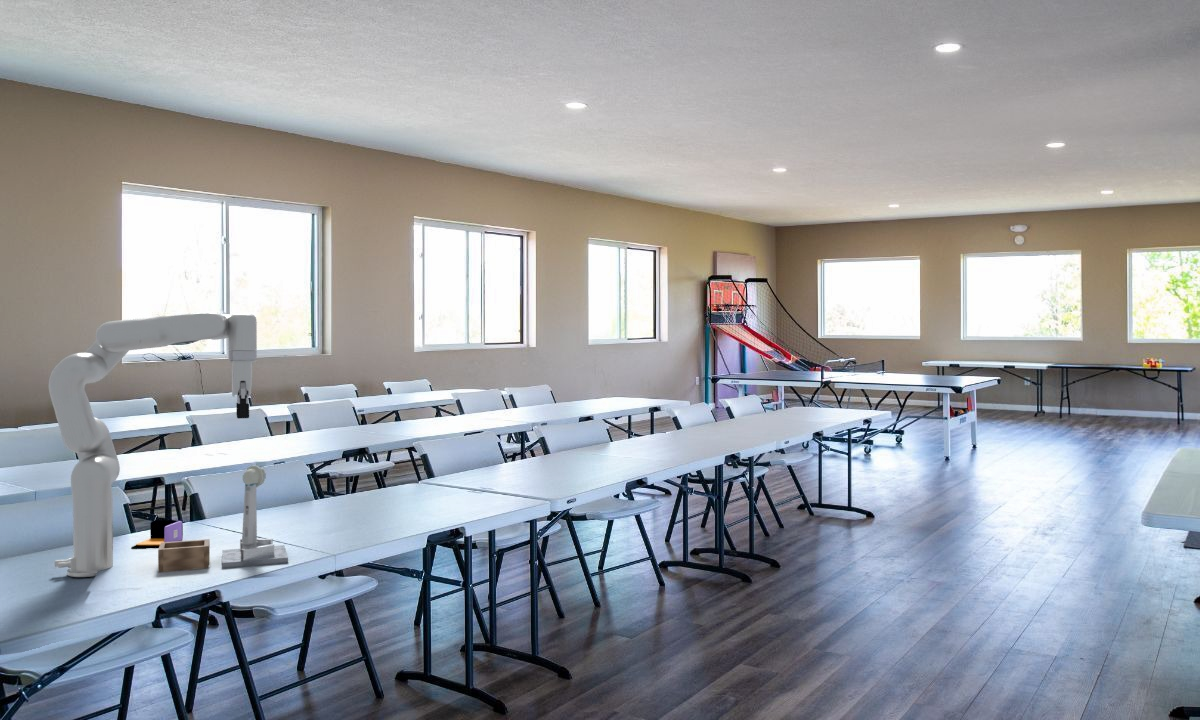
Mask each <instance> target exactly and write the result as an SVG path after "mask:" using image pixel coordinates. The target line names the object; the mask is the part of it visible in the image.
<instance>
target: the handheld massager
mask: <svg viewBox="0 0 1200 720" xmlns="http://www.w3.org/2000/svg"><path fill="white" fill-rule="evenodd" d="M266 475H267V473H266V472H265V470H264V467H262V466H261V465H256V464H253V465H250V466H248V467H247V468H246V470H245V471H244V473H243V475H242V482H243V483H244V496H243V497H244V499H243V515H242V516H243V517H242V532H241V539H242V542H241V544H242V549H245V548H252V547H257V543H258V541H257V539H258V536H257V535H258V533H257V532H258V529H257V528H258V520H257V512H258V511H257V509H258V508H257V488H258V487H260V486H261V485H262V484H264V481H265V479H267V477H266Z"/></svg>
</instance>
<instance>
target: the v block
mask: <svg viewBox="0 0 1200 720" xmlns="http://www.w3.org/2000/svg"><path fill="white" fill-rule="evenodd" d="M239 541H240V542H239V548H234V549H233V548H232V549H222V551H221V552H222V553H221V569H230V568H243V567H253V566H254V567H257V566H267V565H268V566H269V565H280V564H289V557H288V553H287V551H286V547H285V545H275V544H273V543H274V542H273V541H274V538H257V541H258V543H257V547H252V548H245V549H242V544H241V542H242V538H241V539H240V540H239Z"/></svg>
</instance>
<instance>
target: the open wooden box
mask: <svg viewBox="0 0 1200 720" xmlns="http://www.w3.org/2000/svg"><path fill="white" fill-rule="evenodd" d="M210 545H211V544H210V538H208V539H207V538H206V539H204V538H203V539H194V540H193V539H192V540H191V539H190V540H181V541H176V542H162V543H161V544H160V546H159V549H157V552H158V555H157V558H158V559H157V562H158V563H157V564H158V565H157V566H158V567H157V571H158V573H165V572H166V573H167V572H178V571H180V572H181V571H189V570H190V571H191V570H200V569H201V570H203V569H209V568H210V559H211V558H210V557H211V556H210V555H211V554H210V549H211V547H210Z"/></svg>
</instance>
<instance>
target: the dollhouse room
mask: <svg viewBox="0 0 1200 720" xmlns="http://www.w3.org/2000/svg"><path fill="white" fill-rule="evenodd" d="M183 525H184V524H183V521H182V520H167V519H166V520H162V519H161V520H158V519H157V520H152V521H150V527H149V528H150V530H149V531H150V538H148V539H145V540H143V541H141V542H140V541H139V542H138V543H135V544H134V545H133V546H131V549H132V550H139V549H140V550H145V549H146V548H159V546H160V544H161V543H162V542H176V541H183V538H184V537H183V536H184V533H183V532H184V528H183V527H184V526H183ZM146 550H147V549H146Z"/></svg>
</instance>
